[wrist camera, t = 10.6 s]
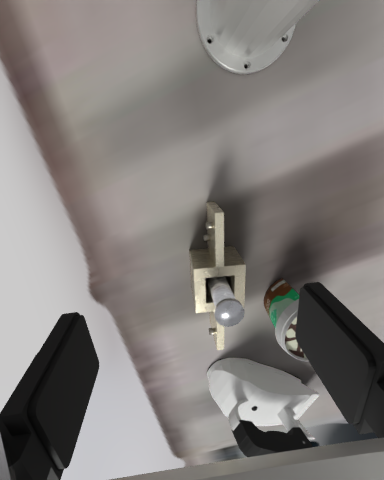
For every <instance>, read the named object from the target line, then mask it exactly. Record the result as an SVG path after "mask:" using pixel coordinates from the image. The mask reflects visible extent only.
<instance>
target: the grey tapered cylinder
mask: <svg viewBox="0 0 384 480" xmlns="http://www.w3.org/2000/svg"><path fill="white" fill-rule="evenodd" d="M206 279H207V282H208V286H209V289H210V292H211V295H212V299H213V302H214V305H215V308H214V316H215V319H216V321H217V322H218V323H219V324H220V325H222V326H227V327H229V326H234V325H236V324H238V323H239V322H240V321H241V320H242V319H243V317H244V309H243V306H242V304H241V303H240V302H239V301H238V300H236V299H235V297H234V294H233V292H232V290H231V288H230V286H229V283H228V281H227V279H226V277H225V276H222V277H211V278H206Z"/></svg>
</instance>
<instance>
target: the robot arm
mask: <svg viewBox="0 0 384 480" xmlns="http://www.w3.org/2000/svg"><path fill="white" fill-rule="evenodd" d="M318 1H320V0H197V4H196V21H197V27H198V32H199V35H200V38H201V41H202V44H203V46H204V47H205V49H206V51H207V53H208V54H209V56H210V57H211V58H212V59H213V60H214V62H216V63H217V64H218V65H219V66H220V67H222V68H224V69H226V70H227V71H229V72H233V73H237V74H251V73H255V72H258V71H260V70H262V69H264V68H266V67H267V66H269V65H270V64H272V63H273V62H274V61H275V60H276V59H277V58H278V57H279V56H280V55H281V54H282V52H283V51H284V50H285V49H286V47H287V45H288V44H289V42H290V40H291V38H292V35H293V32H294V30H295V26H296V23H297V22H298V21H299V20H300V19H301V18H302V17H303V16H304V15H305V14H306V13H307V12H308V11H309V10H310V9H311V8H312V7H313V6H314V5H315V4H316V3H317V2H318ZM282 39H283V41H282ZM208 40H210V41H211V44H209V43H208V42H207V41H208ZM244 65H246V66H247V69H245V68H244ZM295 337H296V341H297V343H298V345H299V346H300V348H301V349H302V351H303V352H304V354H305V356H306V357H307V359H308V360H309V362H310V364H311V365H312V367H313V368H314V370H315V372H316V373H317V375H318V376H319V378H320V379H321V381H322V383H323V384H324V386H325V387H326V389H327V391H328V392H329V394H330V395H331V397H332V399H333V400H334V402H335V403H336V405H337V407H338V408H339V410H340V411H341V413H342V414H343V416H344V418H345V419H346V421H347V422H348V423H349V424H353V425H354V427H355V428H356V430H357V431H358V433H359V434H365V433H372V432H374V433H375V434H376V436H377V437H378V438H377V439H370V440H362V441H353V442H346V443H339V444H332V445H326V446H319V447H312V448H306V449H299V450H293V451H286V452H280V453H273V454H266V455H260V456H254V457H247V458H241V459H235V460H228V461H222V462H216V463H209V464H203V465H197V466H190V467H184V468H178V469H172V470H166V471H159V472H153V473H147V474H142V475H135V476H130V477H123V478H117V479H111V480H384V343H383V342H382V341H381V340H380V339H379V338H378V337H377V336H376V335H375V334H374V333H372V332H371V331H370V330H369V329H368V328H367V327H366V326H365V325H364V324H363V323H362V322H361V321H360V320H359V319H358V318H357V317H356V316H355V315H354V314H353V313H351V312H350V311H349V310H348V309H347V308H346V307H345V306H344V305H343V304H342V303H341V302H340V301H339V300H338V299H337V298H336V297H335V296H334V295H333V294H332V293H330V292H329V291H328V290H327V289H326V288H325V287H324V286H323V285H322V284H321V283H319V282H315V283H307V284H305V285H304V287H303V288H301V289H300V295H299V304H298V314H297V323H296V332H295ZM98 369H99V360H98V357H97V354H96V351H95V348H94V345H93V342H92V339H91V336H90V333H89V330H88V327H87V324H86V321H85V318H84V316H83V315H80V314H79V313H77V312H75V313H68V314H62V315H61V317H60V318H59V320H58V322H57V323H56V325H55V326H54V328H53V330H52V331H51V333H50V335H49V337H48V338H47V340H46V341H45V343H44V344H43V346H42V348H41V350H40V351H39V352H38V354H37V355H36V356H35V358H34V359H33V361H32V363H31V364H30V366H29V368H28V369H27V371H26V372H25V374H24V376H23V377H22V379H21V380H20V382H19V384H18V385H17V387H16V389H15V390H14V392H13V393H12V395H11V397H10V398H9V400H8V402H7V403H6V405H5V406H4V408H3V410H2V411H1V413H0V480H60V479H61V476H62V473H63V470H64V469H65V468H67V467H68V466H69V464H70V461H71V458H72V455H73V452H74V448H75V445H76V442H77V438H78V435H79V432H80V429H81V425H82V422H83V419H84V416H85V413H86V409H87V406H88V403H89V399H90V396H91V393H92V389H93V386H94V383H95V380H96V376H97V373H98Z"/></svg>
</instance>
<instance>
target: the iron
mask: <svg viewBox="0 0 384 480" xmlns="http://www.w3.org/2000/svg"><path fill="white" fill-rule="evenodd" d="M207 377H208V379H209V389H210V392H211V395H212V397H213V398H214V400H215V401H216V403H217V404H218V406H219V407H220V409H221V410H222V412H223V413H224V415H225V416H227V417H228V418H229V423H230V426H231V428H232V432H233V434H234V437H235V439H236V441H237V444H238V446H239V448H240V450H241V451H242V452H243V454H244V455H245V456H247V457H254V456H260V455H266V454H273V453H280V452H286V451H293V450H299V449H306V448H312V444H311V443H310V441H309V440H308V439H315V438H314V437H313V436H312V435H310V434H309V433H308V432H307V430H306V429H305V428H304V427H303V426H302V425H301V423H300V422H299V420H298V418H299V417H300V416H301V415H302V414H303V413H304V412H305V411H306V410H307V408H308V407H309V406H310V405H311V404H312V403H313V402H314V401H315V400H316V398H317V397H318V396H319V393H317V392H316V391H314V390H313V389H311V388H309V387H307V386H305V385H304V384H302V383H301V380H300V379H298V378H296V377H294V376H292V375H290V374H288V373H286V372H284V371H281V370H279V369H276V368H273V367H270V366H266V365H263V364H260V363H257V362H254V361H252V360H249V359H245V358H226V359H222V360H219V361H217V362H215V363H214V364H213V365H212V366H211V367H210V368H209V370H208V372H207ZM281 424H282V425H284V426H285V428H286V429H287V431H288V433H284V432H279V431H267V432H263V431H261V430H259V429H258V428H257V427H256V426H274V425H281Z"/></svg>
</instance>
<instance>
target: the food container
mask: <svg viewBox="0 0 384 480" xmlns="http://www.w3.org/2000/svg"><path fill="white" fill-rule="evenodd" d="M298 304H299V294H298V293H297V292H296V291H295V290H294V289H293V288H292V287H291V286H290V285H289V284H288V283H287V282H286V281H285V280H284V279H283V278H281V279H280V280H278V281H276V282H275V283H274V284H272V285H271V286H270V287H269V289H268V290H267V292H266V294H265V297H264V306H265V309H266V311H267V313H268V315H269V317H270V319H271V321H272V323H273V325H274V327H275V336H276V340H277V342H278V344H279V345H280V346H281V347H282V348H283V349H284V350H285V351H286V352H287V353H288V354H289V355H290V356H292V357H293V358H295V359H297V360H300V361H306V362H309V360H308V359H307V357H306V356H305V354H304V352H303V351H302V349H301V348H300V346H299V345H298V343H297V341H296V337H295V332H296V323H297V314H298Z"/></svg>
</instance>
